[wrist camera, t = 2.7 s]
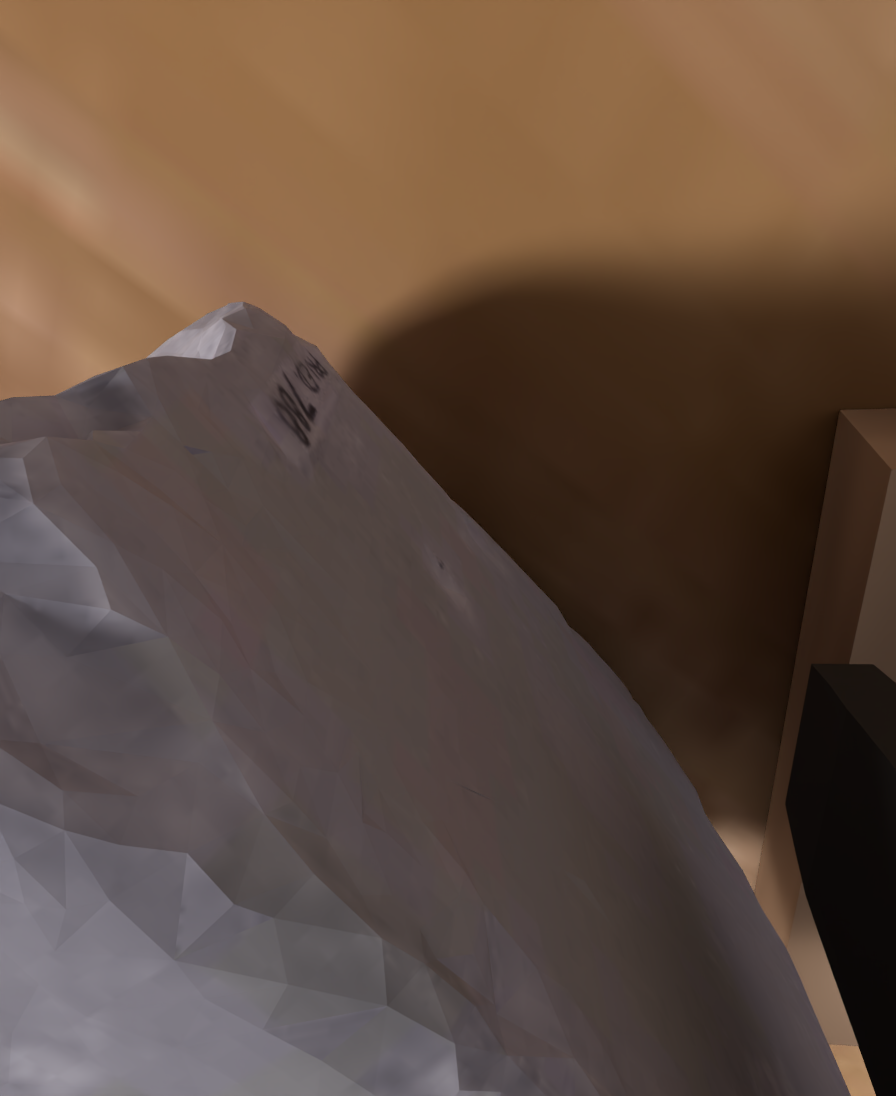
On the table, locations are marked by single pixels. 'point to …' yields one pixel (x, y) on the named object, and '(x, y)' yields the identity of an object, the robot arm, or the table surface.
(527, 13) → the table surface
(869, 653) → the walnut base
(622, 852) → the stone block
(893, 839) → the robot arm
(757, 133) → the table surface
